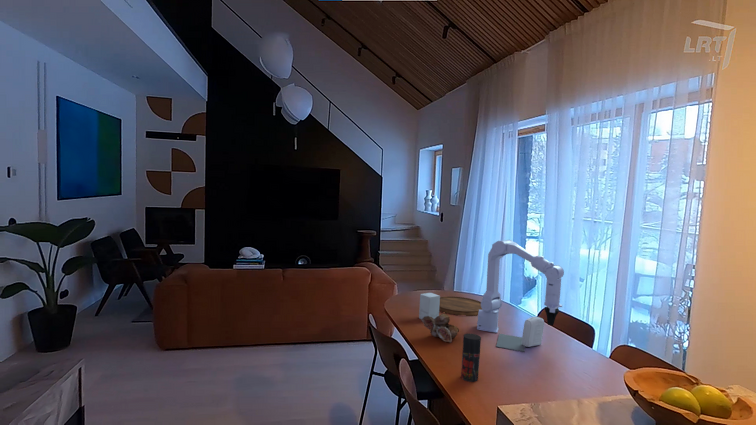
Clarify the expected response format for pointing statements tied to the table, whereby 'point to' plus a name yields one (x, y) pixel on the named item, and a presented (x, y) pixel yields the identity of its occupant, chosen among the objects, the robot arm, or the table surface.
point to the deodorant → (470, 357)
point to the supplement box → (429, 305)
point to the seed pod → (441, 327)
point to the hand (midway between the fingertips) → (550, 324)
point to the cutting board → (459, 306)
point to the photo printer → (533, 331)
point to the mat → (510, 342)
